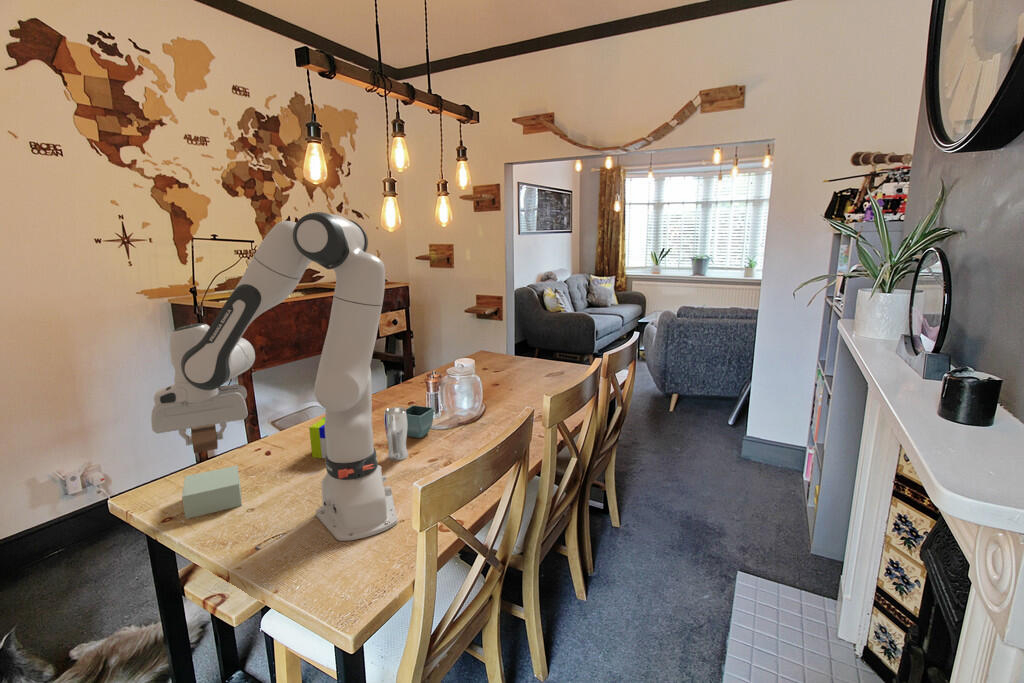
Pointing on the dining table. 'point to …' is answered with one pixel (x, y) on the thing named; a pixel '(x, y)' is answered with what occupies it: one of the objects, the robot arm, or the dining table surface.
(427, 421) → the flower pot
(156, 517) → the dining table surface
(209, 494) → the block
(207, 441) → the walnut cube
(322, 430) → the puzzle toy
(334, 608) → the dining table surface
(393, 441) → the beer glass
